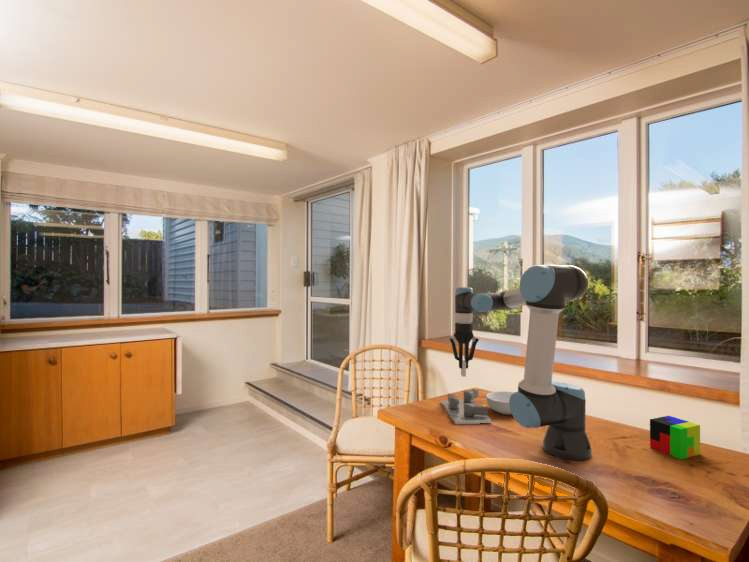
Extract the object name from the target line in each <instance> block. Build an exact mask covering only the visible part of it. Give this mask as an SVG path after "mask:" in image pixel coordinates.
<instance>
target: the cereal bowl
mask: <svg viewBox="0 0 749 562" xmlns="http://www.w3.org/2000/svg"><path fill="white" fill-rule="evenodd" d="M513 393H514V392H512V391H505V390H502V391H501V390H499V391H498V390H497V391H491V392H488V393H487V394H486V403H487V406H488V407H489V408H490V409H491V410H493V411H495V412H497V413H498V414H500V413H501V415H505V414H506V416H507V415H508V416H509V415H512V413H511V410H510V406H509V399H510V396H511V395H512V394H513ZM512 416H513V415H512Z"/></svg>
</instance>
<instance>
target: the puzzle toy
mask: <svg viewBox="0 0 749 562" xmlns="http://www.w3.org/2000/svg"><path fill="white" fill-rule="evenodd" d="M650 447H651V449H653V450H655V449H656V451H658V452H661V453H663V452H664V454H665V455H666V454H667V455H668V454H669V456H671V455H672V456H671V457H674V458H676V459H680V460H685V459H688V458H691V456H692V457H695V455H696V456H699V455H701V425H700V424H698V423H694V422H691V421H687V420H684V419H681V418H677V417H675V416H672V415H665V416H661V417H660V416H659V417H655V418H650V419H649V448H650Z"/></svg>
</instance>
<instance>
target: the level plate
mask: <svg viewBox="0 0 749 562" xmlns="http://www.w3.org/2000/svg"><path fill="white" fill-rule="evenodd" d="M440 403H442V404H441V405H442V406H444V407H443V408H444V410H445V409H446V410H445V412H446V413H447V412H448V413H447V414H448V416H449V415H450V416H449V417H450V419H451V418H452V419H451V420H452V421H454V422H453V423H454V425H481V424H480V423H491V424H492V419H491V418H490V417H489V416H484V415H474V416H471V417H469V416H465V415H464V403H472V404H474V405H477V403H476V402H475V401H474V400H473V402H464V399H459V408H458V409H451V408H449V402H448V399H440Z"/></svg>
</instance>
